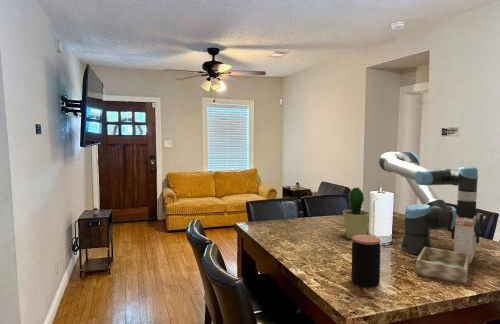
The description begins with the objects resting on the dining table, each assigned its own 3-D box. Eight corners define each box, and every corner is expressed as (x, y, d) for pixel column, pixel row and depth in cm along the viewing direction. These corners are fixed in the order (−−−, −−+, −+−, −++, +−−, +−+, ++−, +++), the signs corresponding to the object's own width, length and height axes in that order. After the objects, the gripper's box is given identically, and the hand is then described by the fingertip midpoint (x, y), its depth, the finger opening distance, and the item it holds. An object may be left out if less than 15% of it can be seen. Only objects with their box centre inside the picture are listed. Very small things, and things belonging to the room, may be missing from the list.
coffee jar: (373, 277, 139) (374, 234, 137) (384, 288, 128) (385, 242, 127) (347, 277, 138) (348, 234, 137) (356, 288, 128) (357, 242, 126)
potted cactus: (365, 242, 185) (366, 189, 183) (338, 237, 195) (339, 186, 193) (373, 236, 198) (374, 186, 196) (348, 232, 207) (349, 184, 205)
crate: (415, 274, 142) (416, 260, 141) (423, 259, 160) (424, 246, 159) (466, 284, 131) (466, 269, 131) (468, 267, 149) (469, 254, 149)
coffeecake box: (457, 251, 167) (459, 213, 165) (475, 254, 162) (476, 215, 161) (452, 259, 155) (454, 218, 154) (471, 263, 151) (473, 221, 149)
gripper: (441, 198, 159) (439, 245, 161) (493, 203, 148) (490, 254, 149) (443, 196, 166) (441, 241, 167) (493, 201, 154) (490, 249, 156)
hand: (464, 247), depth 158 cm, fingers closed on coffeecake box, 7 cm apart
